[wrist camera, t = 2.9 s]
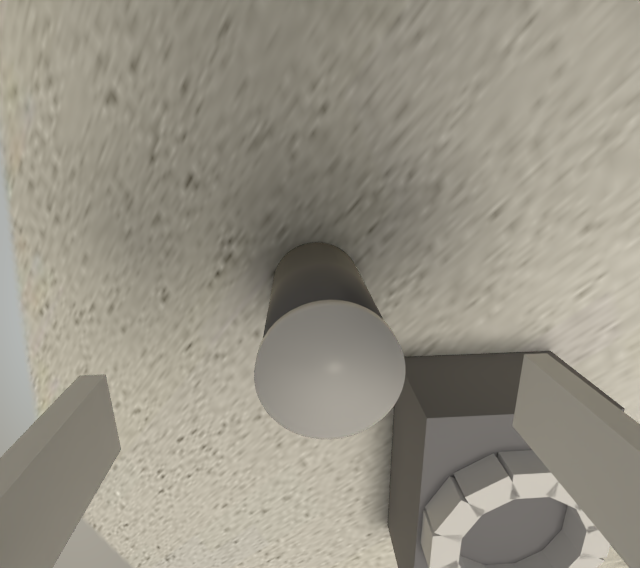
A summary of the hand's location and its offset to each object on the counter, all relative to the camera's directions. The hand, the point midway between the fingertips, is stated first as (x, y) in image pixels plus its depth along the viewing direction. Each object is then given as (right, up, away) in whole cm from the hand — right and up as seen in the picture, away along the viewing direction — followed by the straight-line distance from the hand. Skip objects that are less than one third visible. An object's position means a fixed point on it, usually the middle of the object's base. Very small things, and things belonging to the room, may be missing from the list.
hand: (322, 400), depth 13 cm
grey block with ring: (+10, -7, +15) cm, 19 cm away
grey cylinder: (0, +4, +10) cm, 11 cm away
